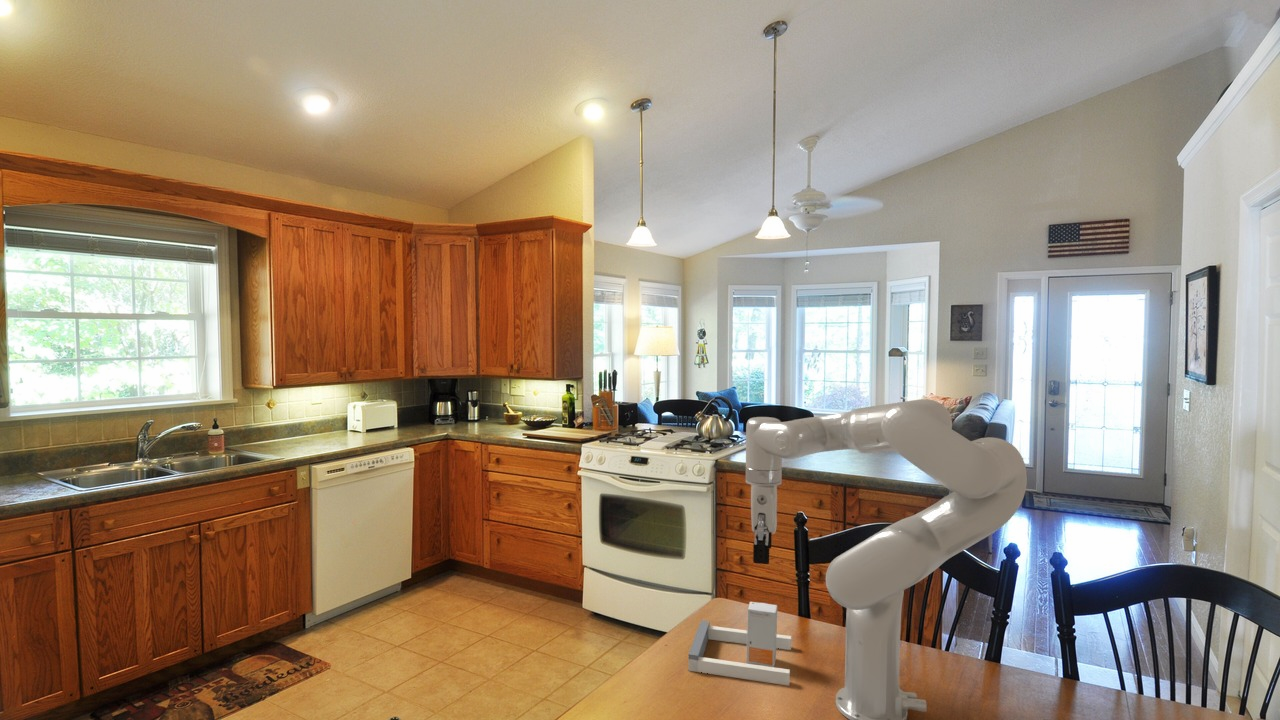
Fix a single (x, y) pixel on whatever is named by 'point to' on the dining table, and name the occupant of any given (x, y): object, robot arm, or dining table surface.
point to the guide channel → (730, 667)
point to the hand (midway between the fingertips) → (762, 555)
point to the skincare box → (761, 634)
